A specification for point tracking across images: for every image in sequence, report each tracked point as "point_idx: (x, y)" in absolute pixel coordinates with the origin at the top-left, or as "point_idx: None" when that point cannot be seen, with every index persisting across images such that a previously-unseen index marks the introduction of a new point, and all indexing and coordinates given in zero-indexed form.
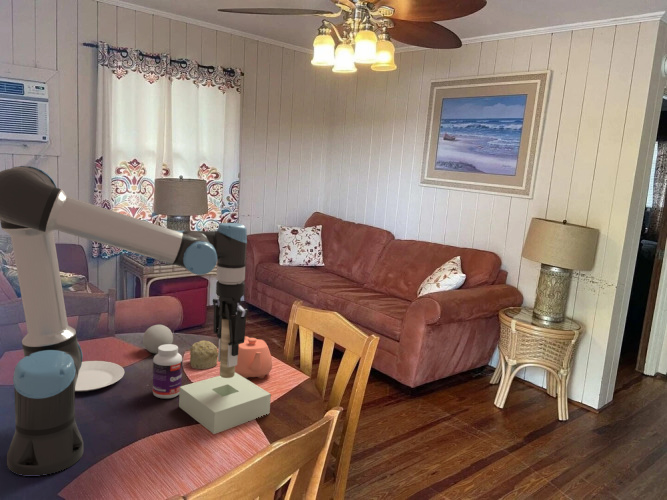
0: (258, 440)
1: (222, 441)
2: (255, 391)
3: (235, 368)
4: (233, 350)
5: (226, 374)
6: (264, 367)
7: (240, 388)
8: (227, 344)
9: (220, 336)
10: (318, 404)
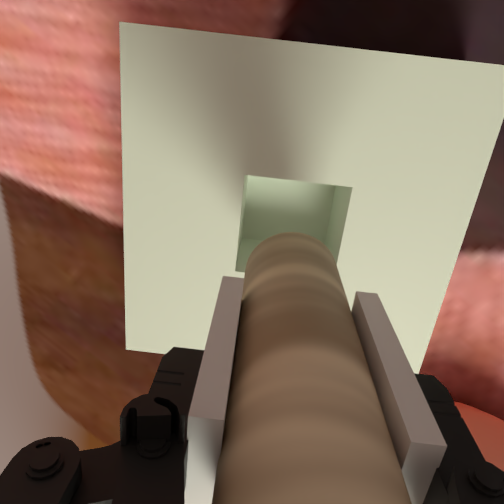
0: (14, 142)
1: (84, 22)
2: (185, 321)
3: (466, 420)
4: (163, 386)
5: (259, 254)
6: None
7: None
8: (246, 413)
9: (448, 486)
10: (105, 440)
